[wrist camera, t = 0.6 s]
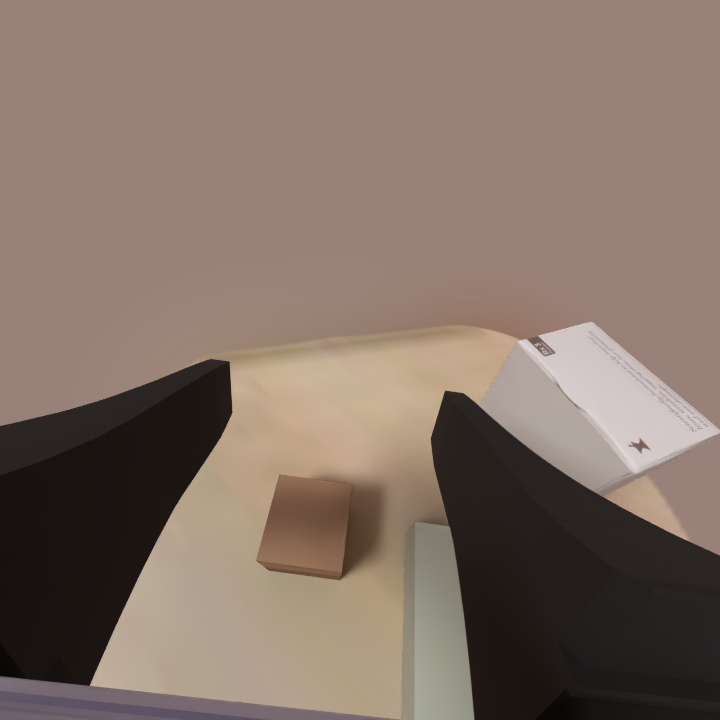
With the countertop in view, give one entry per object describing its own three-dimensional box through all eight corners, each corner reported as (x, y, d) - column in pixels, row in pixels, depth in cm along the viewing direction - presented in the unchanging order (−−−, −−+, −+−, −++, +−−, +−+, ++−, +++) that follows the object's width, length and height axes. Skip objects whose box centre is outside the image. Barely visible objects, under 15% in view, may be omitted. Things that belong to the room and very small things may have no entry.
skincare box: (558, 519, 26) (742, 440, 14) (496, 546, 24) (647, 481, 13) (498, 429, 31) (600, 315, 19) (443, 446, 29) (518, 334, 18)
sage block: (573, 753, 18) (623, 780, 15) (399, 726, 18) (414, 748, 15) (532, 551, 25) (562, 542, 21) (404, 533, 25) (415, 521, 22)
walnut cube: (339, 580, 22) (341, 572, 18) (268, 570, 22) (256, 560, 18) (348, 504, 25) (352, 484, 22) (286, 496, 25) (279, 474, 22)
